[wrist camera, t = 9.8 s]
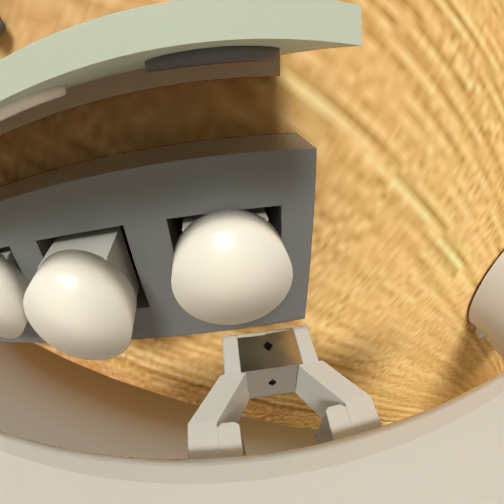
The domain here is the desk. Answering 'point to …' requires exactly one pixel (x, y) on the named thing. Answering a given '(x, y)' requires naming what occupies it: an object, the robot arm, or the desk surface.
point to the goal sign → (166, 50)
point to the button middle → (85, 295)
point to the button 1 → (11, 296)
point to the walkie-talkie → (2, 27)
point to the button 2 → (230, 266)
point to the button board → (168, 214)
